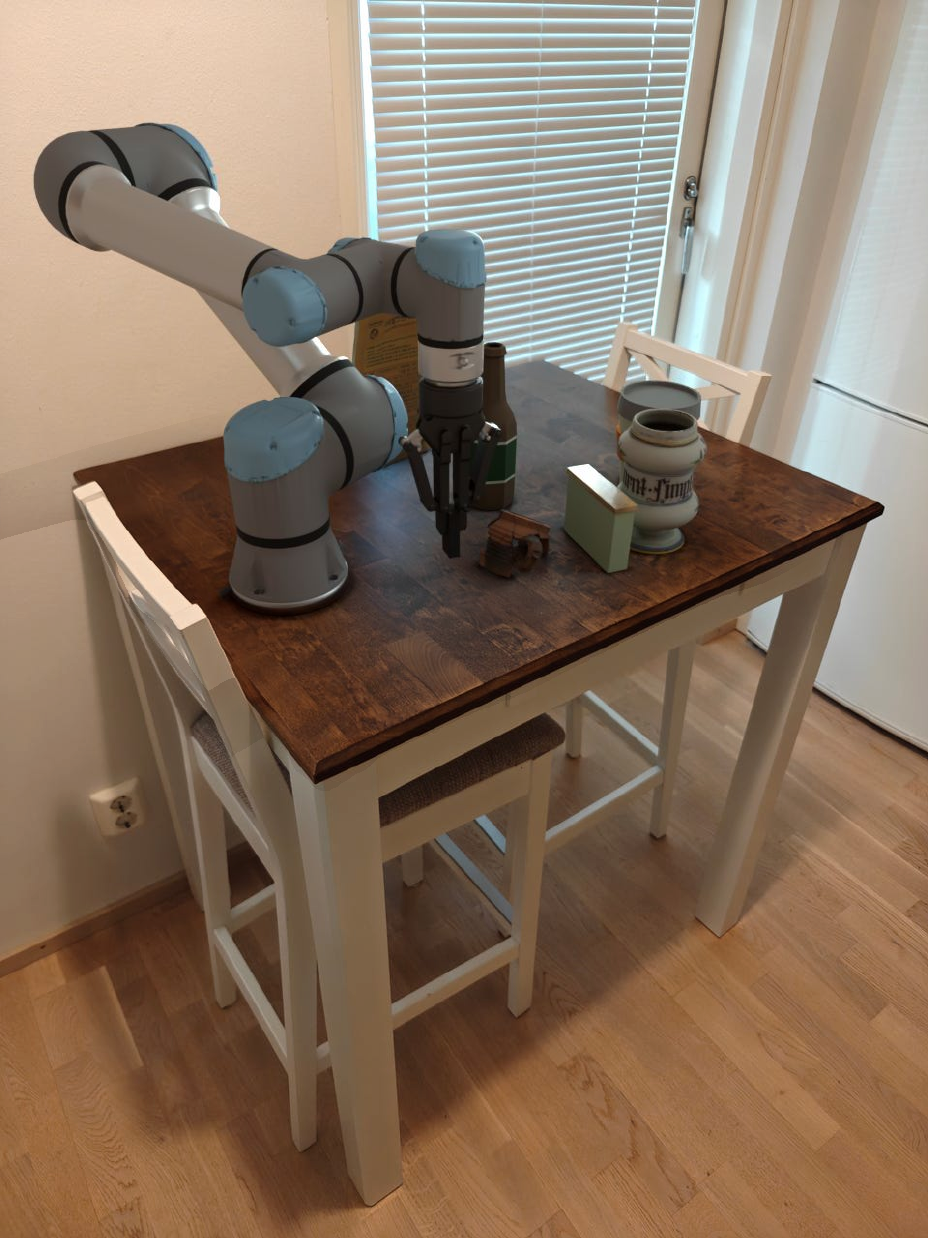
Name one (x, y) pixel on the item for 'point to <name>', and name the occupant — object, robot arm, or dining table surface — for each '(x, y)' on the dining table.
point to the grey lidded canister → (653, 403)
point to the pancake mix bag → (391, 360)
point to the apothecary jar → (661, 476)
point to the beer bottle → (502, 416)
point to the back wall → (599, 517)
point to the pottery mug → (500, 543)
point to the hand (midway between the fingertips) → (451, 552)
